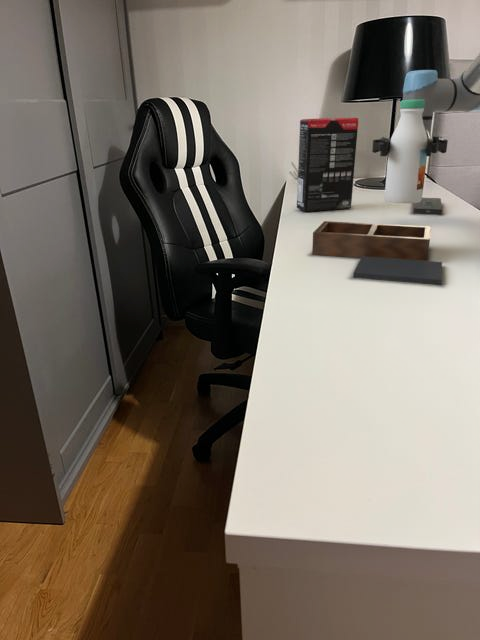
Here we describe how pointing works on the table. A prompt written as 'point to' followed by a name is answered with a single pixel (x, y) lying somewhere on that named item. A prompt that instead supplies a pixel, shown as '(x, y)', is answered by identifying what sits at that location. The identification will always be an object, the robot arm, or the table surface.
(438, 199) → the smart home device
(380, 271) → the mat
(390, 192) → the milk bottle
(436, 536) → the table surface
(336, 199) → the graphics card box
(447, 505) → the table surface
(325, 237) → the wooden compartment tray
